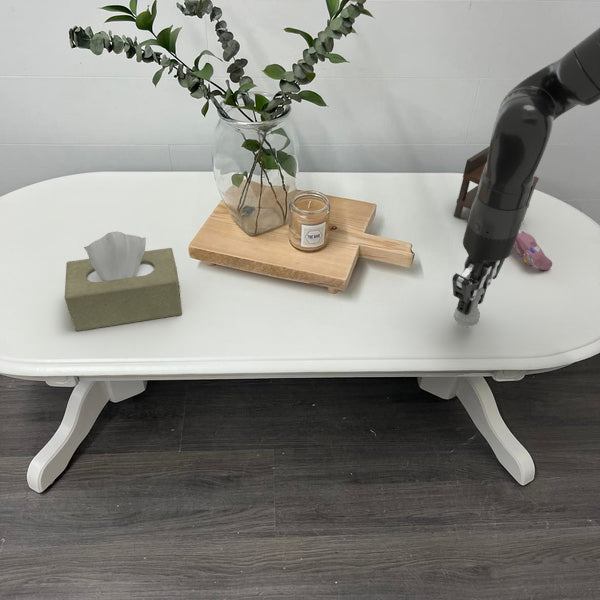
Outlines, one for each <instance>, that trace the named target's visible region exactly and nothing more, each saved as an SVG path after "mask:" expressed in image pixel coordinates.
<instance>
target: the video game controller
mask: <svg viewBox="0 0 600 600" xmlns="http://www.w3.org/2000/svg"><path fill="white" fill-rule="evenodd" d="M513 248H514V249H515V251H516V253H517V254H518V256H520V257H521V256H523V259H524V260H523V261H524V263H526V264H527V265H528V266H534V267H536V268H538V269H540V270H543V271H548V270H550V269H551V268H552V267H553V261H552V259H550V258H549V257H548V256H546V254H545V253H544V250H542V248H541V247H540V246H539V244H538V243H537V241H536V239H535V237H533V235H531V234H529V233H527V232H525V231H523V229H522V228H520V229H519V232H518V235H517V238H516V241H515V244H514V247H513Z"/></svg>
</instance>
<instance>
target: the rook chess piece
mask: <svg viewBox="0 0 600 600" xmlns="http://www.w3.org/2000/svg"><path fill="white" fill-rule="evenodd" d="M471 291H472V287H470V292H471ZM483 293H484V288H483V286H482V288H480V289H478V291H477V293H476V296H475V298H474V302H473V305H472V308H471V312H470V313H469V314H468V315H464V314H463V313H461V312H459V311H458V310H457V307H455V309H454V312H453V315H452V317H453V319H454V321H455V323H457V324H458V325H459V326H461V327H464V328H472V327H474V326H476V325H478V324H479V322H480V318H481V312H480V309H479V304H478V302H479V300H480V299H481V296H480V295H482V294H483Z"/></svg>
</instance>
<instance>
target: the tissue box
mask: <svg viewBox="0 0 600 600" xmlns="http://www.w3.org/2000/svg"><path fill="white" fill-rule="evenodd" d="M146 244H147V237H141V236H138V235H134V234H126V233H124V232H122V231H116V230H115V231H110V232H107V233H106V234H105V235H104V236H102V237H100V238H99V239H97V240H95V241H93V242H91V243H89V244H88V245H87V246H83V248H84V250H85V251H86V254H87V257H88V258H85V259H77V260H69V261H66V264H65V265H66V266H65V282H64V283H65V285H64V300H65V304H66V307H67V311H68V312H69V315H70V318H71V320H72V323H73V326H74V329H75V331H76V332H81V331H87V330H93V329H99V328H100V329H101V328H106V327H111V326H118V325H124V324H131V323H136V322H143V321H150V320H155V319H163V318H169V317H175V316H180V315H181V316H182V314H183V309H182V301H181V300H182V299H181V285H180V280H179V275H178V268H177V264H176V259H175V255H174V251H173V248H172V247H166V248H159V249H152V250H146Z"/></svg>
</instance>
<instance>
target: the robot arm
mask: <svg viewBox="0 0 600 600" xmlns="http://www.w3.org/2000/svg"><path fill="white" fill-rule="evenodd" d="M599 101H600V26H599V27H598V28H597V29H596V30H594V31H593V32H591V33H590V34H589V35H587V36H586V37H584V39H582V40H581V41H580V42H579V43H577V44H576V45H575V46H574V47H572V48H571V49H570V50H569V51H567V52H566V53H565V54H564V55H563V56H561V57H560V58H559V59H557V60H555V61H553V62H552V63H550V64H548V65H546V66H544V67H543V68H541V69H539V70H538V71H536V72H534V73H533V74H531V75H529V76H528V77H526V78H525V79H523V80H522V81H520V82H519V83H518V84H516V85H514V87H513V88H512V89H510V91H508V92H507V94H506V95H505V96H503V98H502V100H501V103H500V105H499V108H498V110H497V111H498V112H497V114H496V117H495V120H494V124H493V128H492V132H491V136H490V142H489V146H490V147H489V146H488V147H489V152H488V158H487V162H486V164H485V167H484V169H483V172H482V176H481V179H480V183H479V187H478V191H477V195H476V197H475V199H474V202H473V204H472V207H471V210H470V212H469V216H468V219H467V224H466V228H465V231H464V235H463V239H462V245H463V248H464V250H465V252H466V253H467V255H468V256H466V258H465V261H464V269H463V271H462V273H461V274H459V273H456V272H455V273H454V275H453V276H452V281H451V282H452V294H453V297H455V298H456V299H458V303H457V306H456V308H457V310H458V311H459V312H461V313H463V314H464V315H468V314H469V313H470V312H471V308H472V305H473V302H474V298H475V296H476V293H477V291H478V289H480V288H482V286H483V288H484V293H483V294H482V295H480V296H481V299H480V300H479V302H478V305H481V304H482V303H483V301H484V299H485V295H486V292H487V289H488V288H489V287H490V286H491V284H492V280H496V279H497V277H498V275H499V273H500V271H501V268H502V267H503V264H504V263H505V261H506V259H508V258H510V256H511V255H512V253H513V250H514V248H515V247H514V244H515V241H516V238H517V235H518V232H519V229H521V227H522V223H523V222H522V220H523V217H524V212H525V206H526V202H527V199H528V196H529V193H530V190H531V187H532V184H533V180H534V176H536V175H535V173H536V172H537V169H538V167H539V165H540V163H541V160H542V158H543V157H544V156H543V155H544V154H545V151H546V148H547V146H548V144H549V140H550V137H551V134H552V130H553V125H554V121H555V120H556V119H557V118H559V117H560V116H561V115H563V114H565V113H567V112H568V111H570V110H572V109H574V108H575V107H577V106H580V107H587V106H591V105H593V104H595V103H597V102H599ZM524 218H525V217H524ZM523 221H524V220H523ZM470 287H472V291H471V292H470Z"/></svg>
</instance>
